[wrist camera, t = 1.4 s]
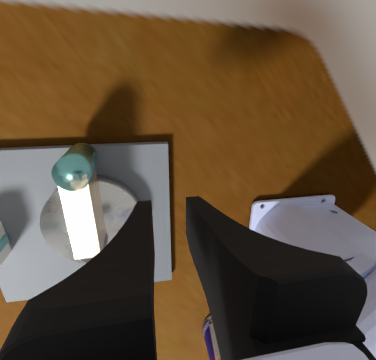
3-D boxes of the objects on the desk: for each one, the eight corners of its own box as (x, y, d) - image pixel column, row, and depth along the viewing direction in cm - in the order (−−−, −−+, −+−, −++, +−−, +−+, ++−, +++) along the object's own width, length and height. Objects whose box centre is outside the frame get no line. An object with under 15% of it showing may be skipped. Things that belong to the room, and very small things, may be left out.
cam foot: (145, 247, 23) (146, 284, 19) (57, 257, 22) (38, 298, 18) (136, 137, 19) (135, 154, 15) (26, 141, 18) (-8, 161, 14)
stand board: (167, 141, 20) (168, 143, 20) (170, 274, 26) (171, 279, 26) (-48, 149, 18) (-56, 152, 17) (10, 295, 24) (6, 302, 23)
